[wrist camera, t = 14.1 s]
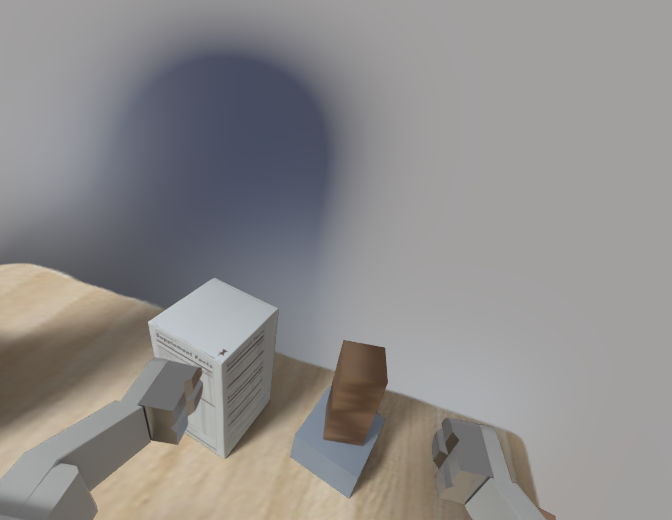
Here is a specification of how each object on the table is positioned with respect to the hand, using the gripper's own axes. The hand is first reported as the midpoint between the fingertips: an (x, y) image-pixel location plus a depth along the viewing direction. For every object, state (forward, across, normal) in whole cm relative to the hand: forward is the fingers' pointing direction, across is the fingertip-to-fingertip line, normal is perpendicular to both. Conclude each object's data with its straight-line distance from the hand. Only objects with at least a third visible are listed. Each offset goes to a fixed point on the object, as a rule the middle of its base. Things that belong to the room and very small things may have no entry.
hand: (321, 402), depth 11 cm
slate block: (+16, -4, +32) cm, 36 cm away
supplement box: (+18, +11, +32) cm, 38 cm away
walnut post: (+16, -5, +27) cm, 32 cm away
